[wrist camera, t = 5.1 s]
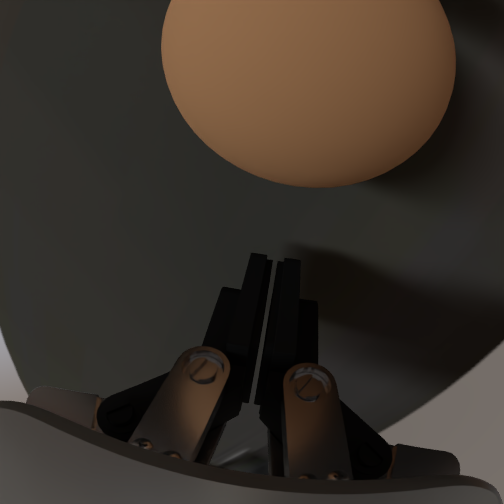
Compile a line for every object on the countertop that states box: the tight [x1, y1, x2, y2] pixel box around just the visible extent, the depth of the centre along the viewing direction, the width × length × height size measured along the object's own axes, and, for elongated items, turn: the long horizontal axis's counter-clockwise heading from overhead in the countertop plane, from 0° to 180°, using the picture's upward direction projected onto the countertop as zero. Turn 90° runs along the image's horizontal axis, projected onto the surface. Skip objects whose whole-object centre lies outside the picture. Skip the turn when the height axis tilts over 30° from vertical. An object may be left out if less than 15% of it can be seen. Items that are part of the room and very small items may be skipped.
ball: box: [161, 0, 456, 188], centre depth 5 cm, size 6×6×6 cm
